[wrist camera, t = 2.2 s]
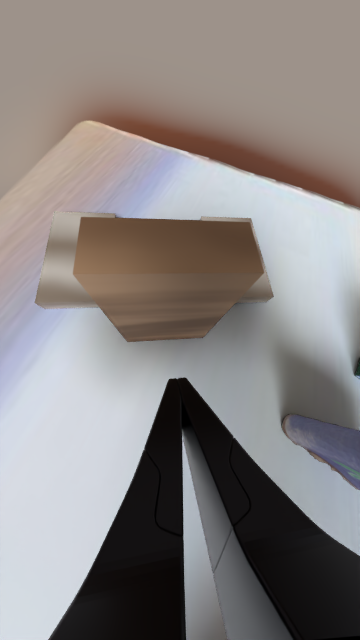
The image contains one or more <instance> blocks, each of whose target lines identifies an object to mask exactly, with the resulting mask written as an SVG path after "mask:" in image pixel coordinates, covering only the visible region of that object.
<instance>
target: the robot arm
mask: <svg viewBox="0 0 360 640" xmlns="http://www.w3.org/2000/svg"><path fill="white" fill-rule="evenodd" d="M182 435H183V440H184V444H185V449H186V453H187V458H188V462H189V467H190V472H191V476H192V481H193V485H194V490H195V494H196V499H197V503H198V508H199V512H200V517H201V521H202V526H203V531H204V535H205V540H206V544H207V549H208V553H209V558H210V562H211V567H212V571H213V574H214V575H213V576H214V581H215V585H216V590H217V594H218V599H219V603H220V608H221V612H222V617H223V621H224V626H225V631H226V635H227V640H360V556H359V555H357V554H356V553H354V552H353V551H351V550H350V549H348V548H347V547H345V546H344V545H342V544H341V543H339V542H338V541H336V540H335V539H333V538H332V537H331V536H329V535H328V534H327V533H325V532H324V531H323V530H322V529H321V528H319V527H318V526H317V525H316V524H315V523H314V522H313V521H312V520H310V519H309V518H308V517H307V516H306V515H305V514H304V513H303V512H302V511H301V509H300V508H299V507H298V506H297V505H296V504H295V503H294V502H293V501H292V500H291V499H290V498H289V497H288V496H287V495H286V494H285V493H284V492H283V491H282V490H281V489H280V488H279V487H278V486H277V485H276V484H275V483H274V482H273V481H272V480H271V478H270V477H269V476H268V475H267V474H266V473H265V472H264V471H263V470H262V469H261V468H260V467H259V466H258V465H257V464H256V463H255V461H254V460H253V459H252V458H251V457H250V456H249V455H248V453H247V452H246V451H245V450H244V449H243V448H242V446H241V445H240V444H239V443H238V441H237V440H236V439H235V438H233V435H232V434H231V433H230V432H229V430H228V429H227V428H226V427H225V425H224V424H223V423H222V422H221V420H220V419H219V418H218V417H217V415H216V414H215V413H214V412H213V411H212V409H211V408H210V407H209V406H208V404H207V403H206V402H205V401H204V399H203V398H202V397H201V396H200V394H199V393H198V392H197V391H196V390H195V388H194V387H193V386H192V385H191V383H190V382H189V381H188V380H187V378H178V379H176V378H174V379H169V380H168V383H167V385H166V388H165V391H164V394H163V397H162V400H161V402H160V405H159V408H158V411H157V414H156V417H155V419H154V422H153V425H152V428H151V431H150V433H149V436H148V439H147V442H146V445H145V448H144V450H143V453H142V456H141V459H140V461H139V464H138V467H137V469H136V472H135V474H134V477H133V479H132V482H131V484H130V486H129V488H128V491H127V493H126V495H125V497H124V500H123V502H122V504H121V506H120V508H119V510H118V512H117V515H116V517H115V519H114V521H113V523H112V525H111V527H110V529H109V531H108V534H107V536H106V538H105V540H104V542H103V544H102V546H101V548H100V551H99V553H98V555H97V557H96V559H95V561H94V563H93V565H92V567H91V569H90V571H89V573H88V575H87V577H86V578H85V580H84V582H83V584H82V586H81V588H80V589H79V591H78V593H77V595H76V596H75V598H74V600H73V601H72V603H71V605H70V606H69V608H68V609H67V611H66V613H65V614H64V616H63V617H62V619H61V620H60V622H59V624H58V625H57V627H56V628H55V630H54V631H53V633H52V635H51V636H50V638H49V639H48V640H186V621H185V589H184V543H183V468H182Z"/></svg>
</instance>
